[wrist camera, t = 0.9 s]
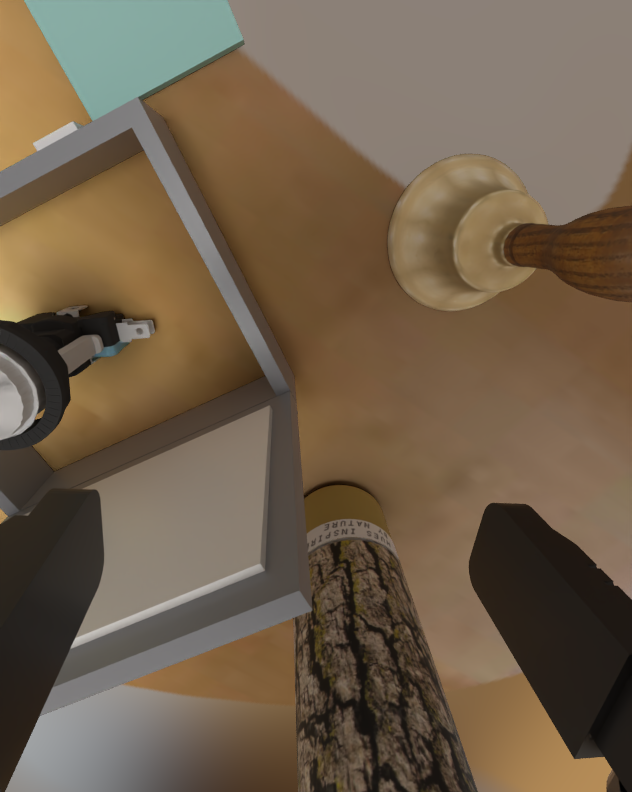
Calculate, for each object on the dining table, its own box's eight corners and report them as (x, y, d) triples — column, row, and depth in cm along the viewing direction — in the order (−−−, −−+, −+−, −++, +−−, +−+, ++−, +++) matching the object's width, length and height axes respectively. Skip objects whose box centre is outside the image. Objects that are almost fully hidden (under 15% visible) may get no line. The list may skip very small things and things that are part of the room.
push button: (146, 278, 24) (60, 319, 14) (166, 368, 26) (102, 453, 17) (24, 287, 23) (-143, 335, 14) (54, 377, 25) (-74, 469, 16)
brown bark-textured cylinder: (272, 510, 30) (243, 1404, 8) (352, 463, 29) (599, 1341, 7) (322, 567, 33) (414, 1368, 10) (398, 526, 32) (692, 1318, 9)
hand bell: (357, 259, 24) (475, 330, 9) (452, 118, 22) (807, -82, 7) (464, 335, 26) (691, 487, 12) (560, 215, 24) (997, 219, 9)
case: (157, 106, 20) (-249, -244, 5) (298, 384, 27) (322, 624, 11) (-152, 273, 22) (-1167, 413, 7) (47, 496, 29) (-235, 837, 13)
